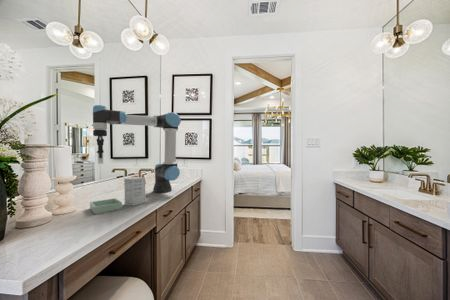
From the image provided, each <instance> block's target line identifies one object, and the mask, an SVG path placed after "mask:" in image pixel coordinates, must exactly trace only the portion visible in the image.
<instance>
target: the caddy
mask: <svg viewBox="0 0 450 300" xmlns="http://www.w3.org/2000/svg"><path fill="white" fill-rule="evenodd" d="M89 208H90V209H89V210H90V211H91V212H92V214H93V215H98V214H99V215H100V214H104V213H109V212H114V211H120V210H123V202H122V201H120V200H119V199H117V198H116V197H115V198H109V199H108V198H107V199H100V200H95V201H93V200H92V201H90V202H89Z"/></svg>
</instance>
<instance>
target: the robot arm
mask: <svg viewBox="0 0 450 300" xmlns="http://www.w3.org/2000/svg"><path fill="white" fill-rule="evenodd" d="M181 121H182V120H181V117H180V116H179V115H178V113H176V112H175V111H174V112H172V111H171V112H167V113H165V114H159V115H152V116H149V115H138V114H137V115H136V114H127V112H126V111H122V110H113V109H112V110H111V109H107V107H106V106H105V105H100V104H98V105H97V104H96V105H93V107H92V124H91V126H92V127H93V128H92V129H93V130H92V136H93V137H97V138H96V145H97V151H96V153H97V163H98V165H99V164H104V152H105V151H104V149H103V148H104V142H105V139H104V138H103V137H107V135H108V131H107V130H108V125H128V126H129V125H130V126H131V125H132V126H144V127H145V126H146V127H147V126H149V127H153V128H161V129H162V130H163V131H164V161H163V162H162V163H157V164H155V166H154V184H153V188H152V193H158V194H160V193H161V192H163V193H168V192H167V191H169V192H171V191H170V190H173V189H172V185H171V183H170V182H172V181H176V180H177V179H178V178H179V177H180V175H181V173H180V171H181V170H180V169H179V166H178V162H176V149H177V147H176V146H177V145H176V144H177V143H176V142H177V131H179V126H180V124H181Z"/></svg>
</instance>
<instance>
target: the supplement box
mask: <svg viewBox="0 0 450 300" xmlns="http://www.w3.org/2000/svg"><path fill="white" fill-rule="evenodd" d="M123 181H124V185H123V186H124V205H126V206H127V205H128V206H132V207H134V206H139V205H141V204H146V177H143V176H133V177H126V178H124V179H123Z"/></svg>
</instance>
